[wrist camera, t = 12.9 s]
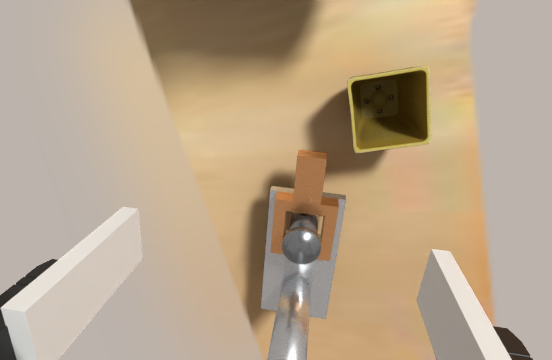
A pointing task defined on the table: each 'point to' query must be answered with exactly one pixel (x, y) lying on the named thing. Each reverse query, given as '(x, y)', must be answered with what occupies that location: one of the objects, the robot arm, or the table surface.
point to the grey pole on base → (300, 277)
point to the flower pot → (390, 109)
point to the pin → (302, 239)
